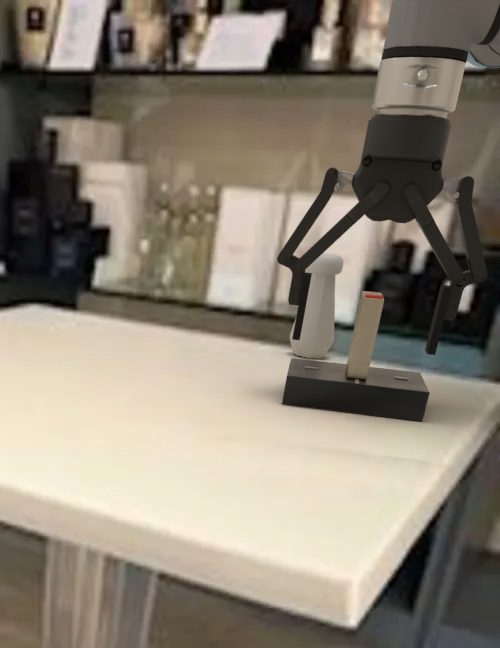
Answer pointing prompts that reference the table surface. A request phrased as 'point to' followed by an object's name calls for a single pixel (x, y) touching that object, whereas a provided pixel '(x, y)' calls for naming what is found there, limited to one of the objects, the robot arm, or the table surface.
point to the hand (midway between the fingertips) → (361, 345)
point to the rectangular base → (356, 390)
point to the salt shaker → (319, 309)
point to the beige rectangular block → (364, 335)
